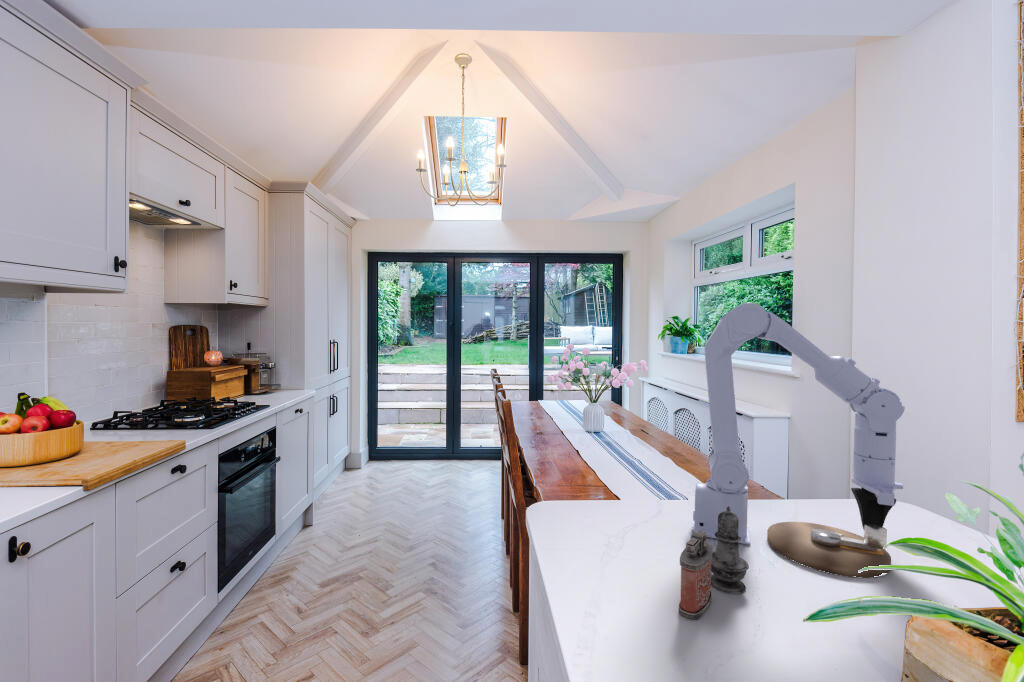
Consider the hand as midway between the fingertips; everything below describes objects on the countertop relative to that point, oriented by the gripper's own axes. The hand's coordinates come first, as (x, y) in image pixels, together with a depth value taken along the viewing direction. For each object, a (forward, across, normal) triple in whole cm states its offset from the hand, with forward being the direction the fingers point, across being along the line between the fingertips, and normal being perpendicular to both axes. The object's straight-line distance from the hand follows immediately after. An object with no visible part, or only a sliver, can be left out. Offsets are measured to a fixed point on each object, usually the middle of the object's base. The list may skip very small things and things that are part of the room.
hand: (871, 532), depth 80 cm
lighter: (+4, -30, +27) cm, 41 cm away
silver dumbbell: (+2, -2, +4) cm, 5 cm away
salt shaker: (+4, -22, +23) cm, 32 cm away
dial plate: (+4, -2, +7) cm, 8 cm away
